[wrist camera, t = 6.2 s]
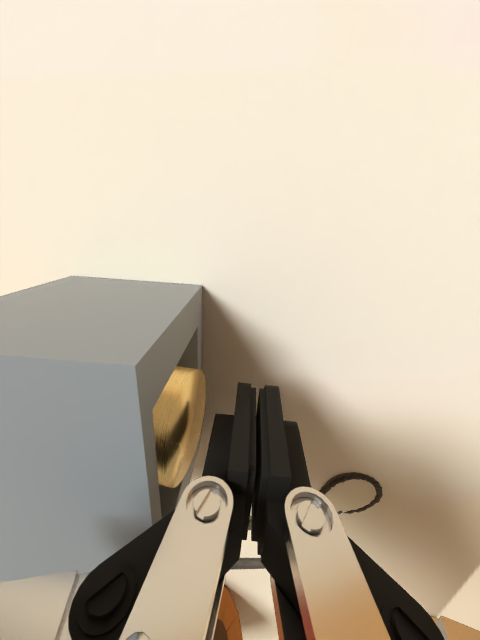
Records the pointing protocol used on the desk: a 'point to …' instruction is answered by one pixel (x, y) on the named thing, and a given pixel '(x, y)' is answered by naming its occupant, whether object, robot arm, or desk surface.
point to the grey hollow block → (86, 416)
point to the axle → (178, 423)
